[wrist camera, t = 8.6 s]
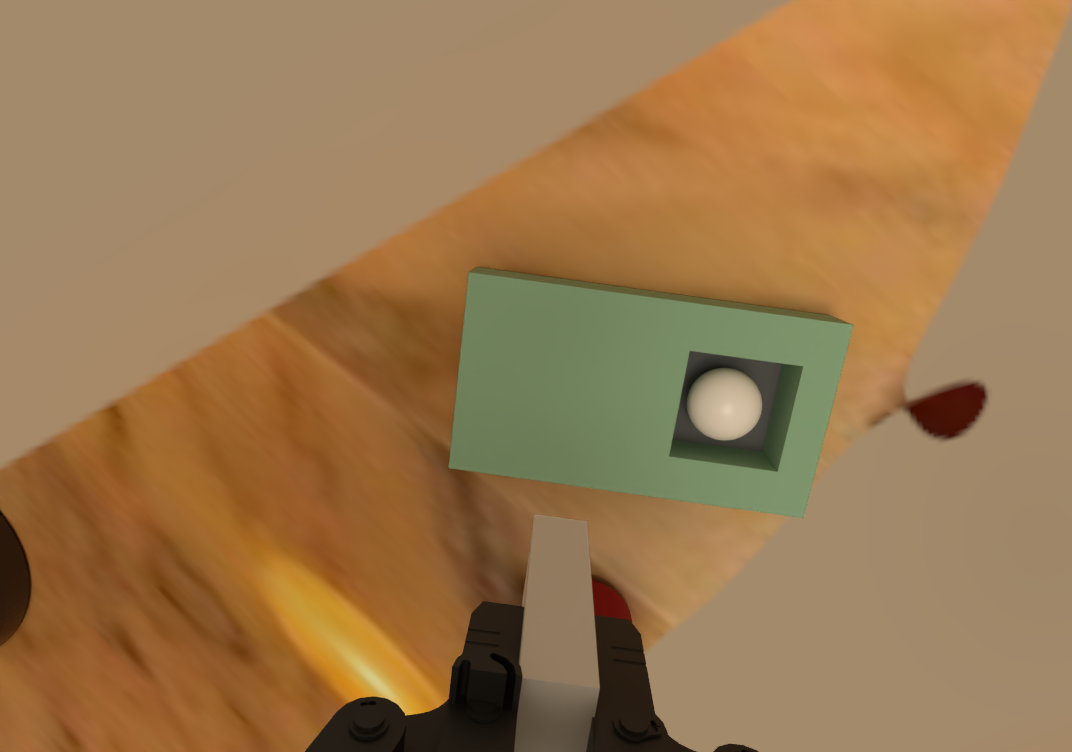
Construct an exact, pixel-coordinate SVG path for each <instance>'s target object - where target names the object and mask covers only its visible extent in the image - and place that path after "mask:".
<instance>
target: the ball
mask: <svg viewBox="0 0 1072 752" xmlns="http://www.w3.org/2000/svg"><path fill="white" fill-rule="evenodd" d="M687 411H688V415H689V417H690V419H691V421H692V423H693V424H694V426H695V427H696V428H697V429H698V430H699V431H700V432H701V433H703V434H704V435H706V436H708V437H710V438H713V439H716V440H734V439H737V438H740V437H742V436H744V435H746V434H747V433H748V432H750V431H751V430H752V429H753V428H754V427H755V425H756V424H757V422H758V420H759V418H760V415H761V412H762V398H761V394H760V391H759V389H758V387H757V385H756V384H755V382H754V381H753V380H752V379H751V378H750V377H749V376H747V375H746V374H744V373H743V372H741V371H738V370H735V369H731V368H717V369H713V370H710V371H708V372H706V373H704V374H702V375H701V376H700V377H699V378H697V379H696V381H695V382H694V383H693V384H692V386H691V388H690V390H689V393H688V396H687Z"/></svg>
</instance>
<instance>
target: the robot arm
mask: <svg viewBox="0 0 1072 752" xmlns="http://www.w3.org/2000/svg"><path fill="white" fill-rule="evenodd" d="M28 597H29V578H28V571H27V566H26V562H25V559H24V556H23V553H22V550H21V548H20V546H19V543H18V541H17V539H16V537H15V536H14V534H13V532H12V531H11V529H10V527H9V526H8V524H7V523H6V522H5V520H4V519H3V518H2V516H1V515H0V646H1V645H2V644H3V643H5V642H6V641H7V640H8V639H9V638H10V637H11V636H12V635H13V633H14V632H15V631H16V629H17V628H18V626H19V625H20V623H21V621H22V619H23V616H24V614H25V611H26V607H27V603H28ZM643 651H644V650H643V645H642V639H641V634H640V633H639V632H638V630H637V629H636V628H635V626H634V625H633V624H632V622H631V621H630V620H629V619H621V618H614V617H606V616H599V615H594V605H593V592H592V579H591V565H590V552H589V539H588V526H587V521H583V520H576V519H568V518H561V517H553V516H546V515H539V514H534V520H533V528H532V535H531V542H530V550H529V557H528V564H527V571H526V579H525V586H524V593H523V601H522V607H521V606H514V605H507V604H499V603H492V602H484V601H483V602H482V603H481V604H480V605H479V606H478V607H477V608H476V609H475V610H474V612H473V613H472V615H471V619H470V623H469V628H468V632H467V637H466V641H465V645H464V650H463V654H462V655H461V656H459V657H458V658H457V659H456V661H455V663H454V665H453V666H452V675H451V684H450V693H449V699H448V700H447V702H445V703H444V704H443V705H441V706H440V707H438V708H436V709H434V710H432V711H429V712H425V713H421V714H415V715H407V716H405V713H404V712H403V711H402V710H401V708H400V707H399V706H398V705H397V704H396V703H394V702H392V701H390V700H388V699H385V698H379V697H366V698H359V699H357V700H354V701H352V702H349V703H347V704H346V705H344V706H343V707H342V708H341V709H340V710H339V711H338V712H336V714H335V715H334V716H333V717H332V719H331V720H330V721H329V722H328V724H327V725H326V726H325V727H324V729H323V730H322V731H321V732H320V734H319V735H318V736H317V737H316V738H315V740H314V741H313V742H312V743H311V745H310V746H309V747H308V748H307V750H306V751H305V752H696V751H693V750H691V749H689V748H687V747H685V746H683V745H681V744H679V743H678V742H676V741H675V740H673V739H672V738H671V737H670V736H669V735H668V733H667V730H666V728H665V726H664V724H663V722H662V721H661V720H660V719H659V718H658V717H657V715H656V714H655V711H654V705H653V700H652V694H651V689H650V683H649V678H648V672H647V667H646V661H645V656H644V653H643ZM714 752H758V751H756V750H754V749H751V748H749V747H746V746H744V745H737V744H727V745H723V746H719V747H718V748H717V749H716V750H715V751H714Z"/></svg>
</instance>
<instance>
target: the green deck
mask: <svg viewBox="0 0 1072 752" xmlns="http://www.w3.org/2000/svg"><path fill="white" fill-rule="evenodd" d="M852 329H853V325H852V324H850V323H847V322H845V321H842V320H840V319H838V318H835V317H833V316H830V315H825V314H817V313H810V312H803V311H795V310H788V309H781V308H773V307H766V306H759V305H751V304H744V303H737V302H730V301H722V300H715V299H708V298H700V297H693V296H686V295H678V294H671V293H664V292H656V291H649V290H642V289H635V288H627V287H620V286H613V285H605V284H598V283H591V282H583V281H576V280H569V279H561V278H554V277H547V276H540V275H532V274H525V273H518V272H510V271H503V270H496V269H488V268H481V267H476V268H475V269H473V270H472V271H470V272H469V276H468V285H467V295H466V305H465V314H464V324H463V334H462V343H461V353H460V362H459V372H458V382H457V391H456V401H455V411H454V420H453V430H452V440H451V449H450V459H449V468H451V469H458V470H465V471H472V472H480V473H487V474H494V475H501V476H508V477H515V478H522V479H529V480H536V481H543V482H551V483H558V484H565V485H572V486H579V487H586V488H593V489H600V490H607V491H614V492H621V493H629V494H636V495H643V496H650V497H657V498H664V499H671V500H678V501H685V502H692V503H700V504H707V505H714V506H721V507H728V508H735V509H742V510H749V511H756V512H763V513H771V514H778V515H785V516H792V517H799V518H803V517H804V513H805V510H806V506H807V502H808V498H809V494H810V491H811V487H812V483H813V479H814V475H815V471H816V468H817V464H818V460H819V456H820V452H821V448H822V444H823V441H824V437H825V433H826V429H827V425H828V421H829V418H830V414H831V410H832V406H833V402H834V398H835V394H836V391H837V387H838V383H839V379H840V375H841V371H842V368H843V364H844V360H845V356H846V352H847V348H848V344H849V341H850V337H851V333H852ZM717 368H731V369H735V370H738V371H741V372H743V373H744V374H746V375H747V376H749V377H750V378H751V379H752V380H753V381H754V382H755V384H756V385H757V387H758V389H759V391H760V394H761V398H762V412H761V415H760V418H759V420H758V422H757V424H756V425H755V427H754V428H753V429H752V430H751V431H750V432H748V433H747V434H746V435H744V436H742V437H740V438H737V439H734V440H716V439H713V438H710V437H708V436H706V435H704V434H703V433H701V432H700V431H699V430H698V429H697V428H696V427H695V426H694V424H693V423H692V421H691V419H690V417H689V415H688V411H687V396H688V393H689V390H690V388H691V386H692V384H693V383H694V382H695V381H696V379H697V378H699V377H700V376H701V375H702V374H704V373H706V372H708V371H710V370H713V369H717Z"/></svg>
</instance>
